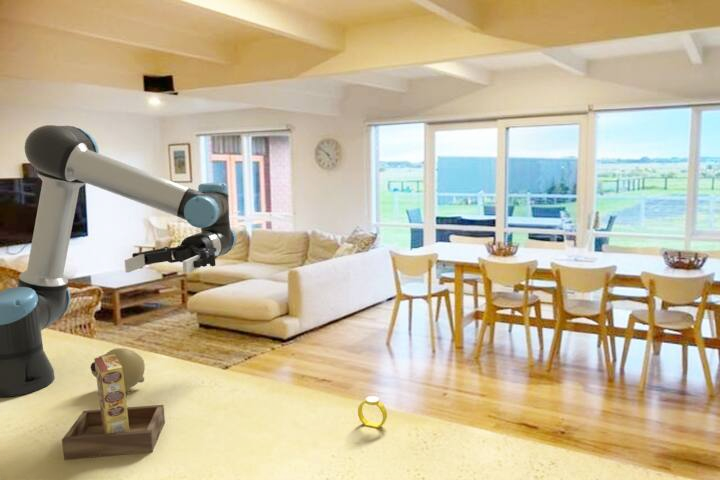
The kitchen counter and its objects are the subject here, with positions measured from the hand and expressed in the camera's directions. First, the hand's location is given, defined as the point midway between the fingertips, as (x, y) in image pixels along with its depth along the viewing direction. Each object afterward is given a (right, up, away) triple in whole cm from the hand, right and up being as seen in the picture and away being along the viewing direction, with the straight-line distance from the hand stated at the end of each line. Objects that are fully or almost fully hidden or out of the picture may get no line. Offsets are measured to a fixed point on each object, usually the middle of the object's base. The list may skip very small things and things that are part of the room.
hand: (155, 266), depth 125 cm
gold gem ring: (+47, -33, -6) cm, 57 cm away
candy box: (-5, -33, -9) cm, 35 cm away
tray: (-4, -34, -9) cm, 36 cm away
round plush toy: (-13, -30, +15) cm, 36 cm away
